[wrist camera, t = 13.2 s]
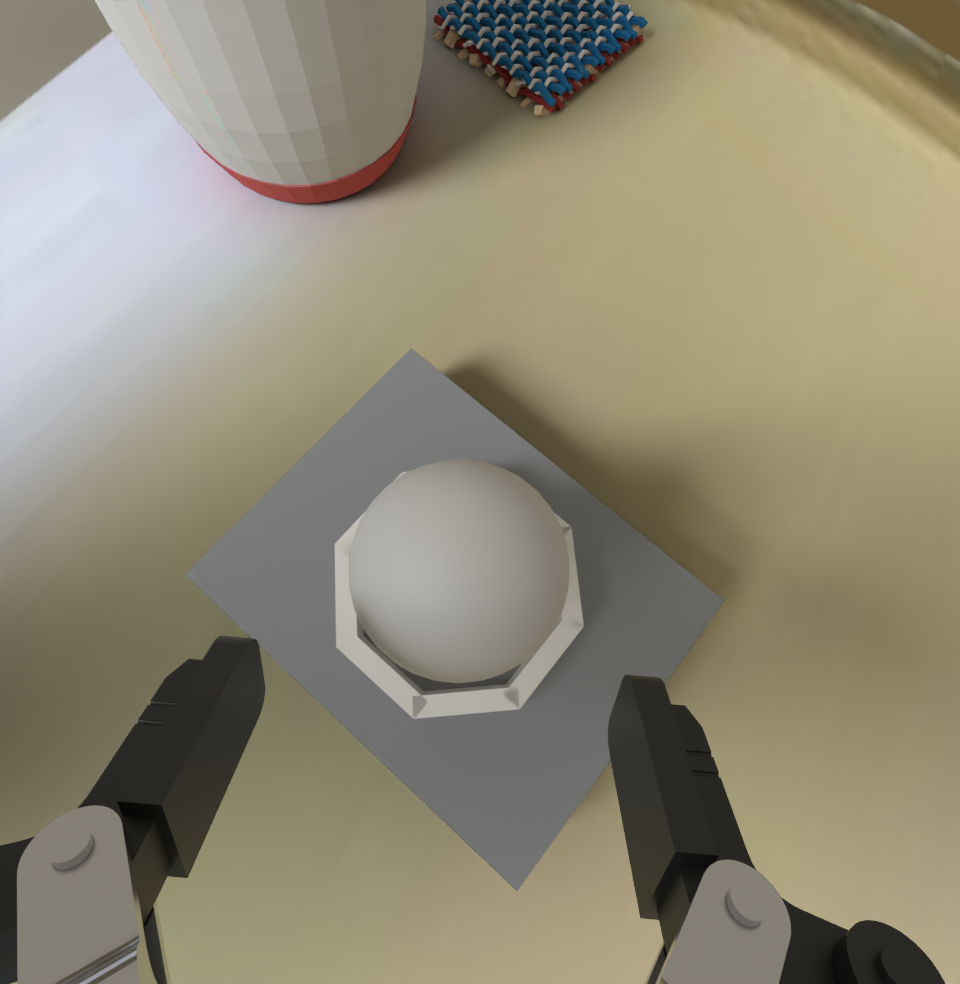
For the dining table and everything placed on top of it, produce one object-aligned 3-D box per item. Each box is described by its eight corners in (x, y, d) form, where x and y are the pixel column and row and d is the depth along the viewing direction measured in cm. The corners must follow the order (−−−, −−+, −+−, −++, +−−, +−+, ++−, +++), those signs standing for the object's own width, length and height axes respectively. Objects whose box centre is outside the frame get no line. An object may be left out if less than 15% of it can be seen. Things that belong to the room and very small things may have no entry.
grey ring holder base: (224, 583, 27) (166, 570, 21) (417, 385, 30) (408, 331, 24) (507, 850, 24) (521, 910, 19) (686, 605, 27) (741, 598, 22)
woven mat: (530, -36, 39) (534, -72, 37) (645, 48, 37) (655, 15, 35) (425, 41, 37) (423, 7, 35) (543, 133, 35) (548, 103, 33)
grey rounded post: (552, 555, 24) (629, 482, 13) (499, 694, 22) (535, 739, 11) (423, 501, 24) (395, 387, 13) (361, 633, 22) (274, 622, 12)
